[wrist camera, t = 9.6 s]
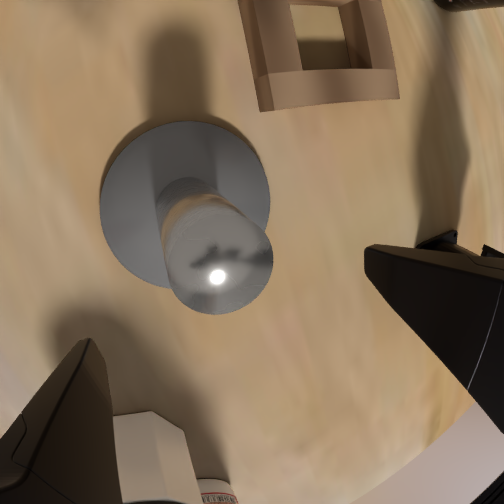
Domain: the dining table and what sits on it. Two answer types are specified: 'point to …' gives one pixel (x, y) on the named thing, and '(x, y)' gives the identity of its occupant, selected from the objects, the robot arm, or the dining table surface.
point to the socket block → (318, 81)
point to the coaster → (163, 173)
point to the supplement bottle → (468, 4)
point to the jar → (153, 461)
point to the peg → (211, 248)
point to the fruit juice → (216, 492)
